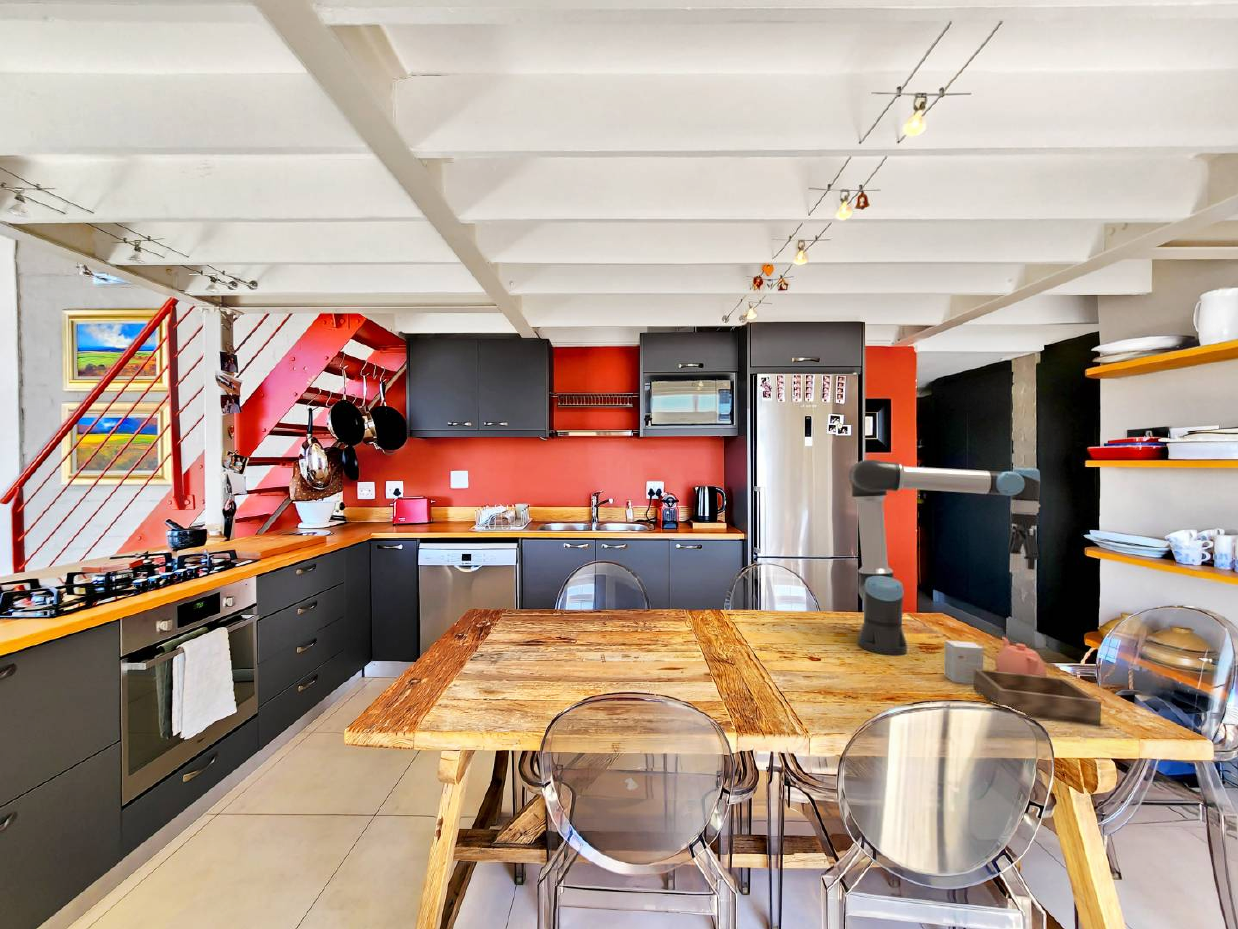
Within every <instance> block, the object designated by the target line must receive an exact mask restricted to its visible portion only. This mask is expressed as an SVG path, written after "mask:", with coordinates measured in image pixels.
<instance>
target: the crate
mask: <svg viewBox="0 0 1238 929" xmlns="http://www.w3.org/2000/svg"><path fill="white" fill-rule="evenodd" d="M973 690H974V691H975V692H977V693H978V694H979V693H980V694H982V695H983V696H984V698H986V699H985V700H986V701H987V702H988V701H989V702H993V703H996V704H999V705H1006V706H1008V707H1011V708H1012V709H1015V710H1017V711H1020V712H1023V713H1025V714H1026V715H1028V716H1027V717H1033V718H1034V717H1035V718H1041V719H1042V718H1043V719H1050V720H1057V721H1067V722H1073V723H1082V724H1089V725H1097V726H1101V723H1102V722H1101V720H1102V701H1100V700H1098V699H1097V698H1095V697H1094V696H1092V695H1091V694H1089V693H1087V692H1086V691H1084V690H1082V689H1081V688H1079V687H1078V686H1076V685H1074V684H1073V683H1072V682H1070V681H1068V680H1067V679H1065V678H1062V677H1061V678H1060V677H1053V676H1047V677H1044V676H1035V675H1026V674H1017V673H1008V672H999V671H998V670H997V671H996V670H988V669H983V670H981V669H974V684H973ZM980 694H979V695H980ZM989 702H988V703H989Z"/></svg>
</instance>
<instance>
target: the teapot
mask: <svg viewBox="0 0 1238 929" xmlns="http://www.w3.org/2000/svg"><path fill="white" fill-rule="evenodd" d="M1001 638H1002V641H1003V648H1002V649H1001V650H1000V651H999V653H998V654H997V656H996V658H995V663H994V666H995V667H994V668H996V670H997V671H999V672H1008V673H1017V674H1026V675H1035V676H1044V677H1048V676H1047V674H1048V673H1047V670H1046V666H1045V663H1044V662H1043V659H1042V658H1041V656H1040V655H1039V653H1038V652H1037V651H1035V650H1034V649H1032V648H1028V647H1027V645H1026V644H1023V643H1015V645H1011V644H1010V641H1009V640H1008V638H1006V637H1005V636H1002V637H1001Z"/></svg>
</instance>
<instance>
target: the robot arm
mask: <svg viewBox="0 0 1238 929" xmlns="http://www.w3.org/2000/svg"><path fill="white" fill-rule="evenodd" d="M1040 472H1041V471H1040V470H1039V469H1038V468H1032V467H1031V468H1030V467H1014V468H1013V469H1012V471H1007V470H1006V471H995V470H990V471H989V470H976V469H961V468H960V469H959V468H957V469H956V468H940V467H938V468H937V467H924V466H922V467H921V466H904V465H902V464H901V463H898V462H888V461H882V460H878V459H865V460H860V461H858V462H856V463H855V464H854V465H853V466H852V467H851V469H850V471H849V474H848V479H849V482H850V484H851V486H850V487H851V494H852V495H851V497H852V498H853V500H855V501H856V503H857V515H858V516H857V517H858V530H859V541H860V551H861V552H860V554H861V567H860V568H859V569H858V571H857V572H858V586H857V592H858V594H859V597H860V599H861V600H862V601H863V603H864V606H863V609H864V610H863V623H862V626H861V629H860V632H859V634H858V635H857V646H858V647H860V648H861V649H863V650H865V651H868V652H872V653H876V654H881V655H889V656H890V655H891V656H901V655H905V654H907V653H908V644H907V640H906V637H905V634H904V630H903V625H902V624H903V607H904V606H903V602H904V601H903V600H904V599H903V598H904V593H905V592H904V587H903V585H904V584H903V583H902V582H901V581H900V580H898V579H896V578H894V570H893V569H892V568H890V567H889V564H888V562H889V561H888V551H887V550H888V549H887V536H886V526H885V524H886V523H885V513H884V512H885V511H884V500H885V499H886V497H887V496H888V494H887V492H889V491H890V492H891V491H892V492H899V491H900V490H901V489H905V490H907V489H908V490H920V491H921V490H922V491H936V492H937V491H940V492H950V493H951V492H954V493H955V492H956V493H967V494H968V493H971V494H981V495H1000V496H1006V497H1007V496H1008V497H1009V496H1010V497H1011V498H1010V512H1012V513H1011V514H1010V519H1009V520H1010V524H1011V525H1012V526H1011V534H1010V538H1009V542H1008V547H1007V551H1009V555H1010V556H1009V573H1014V574H1020V572H1021V571H1020V569H1021V555H1022V551H1021V550H1022V547H1023V549H1024V554H1025V556H1024V557H1023V560H1024V570H1023V571H1024V572H1023V575H1024V576H1023V579H1024V580H1025V579H1026V580H1032V581H1033V580H1036V561H1037V559H1038V560H1039V559H1040V554H1039V547H1038V541H1037V530H1036V529H1035V528H1032V527H1037V526H1038V525H1039V515H1038V514H1039V508H1041V504H1039V503H1040V487H1041V486H1040V485H1041V475H1040Z"/></svg>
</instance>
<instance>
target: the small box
mask: <svg viewBox="0 0 1238 929" xmlns="http://www.w3.org/2000/svg"><path fill="white" fill-rule="evenodd" d="M984 651H985V650H984V647H982V646H980V645H979V644H976V643H975V642H973V641H959V640H958V641H957V640H945V641H944V672H943V673H944V677H946V678H947V679H949V680H950V681H951V682H953V683H955V684H966V685H967V684H969V685H970V684H971V685H974V669H981V670H984Z"/></svg>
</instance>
